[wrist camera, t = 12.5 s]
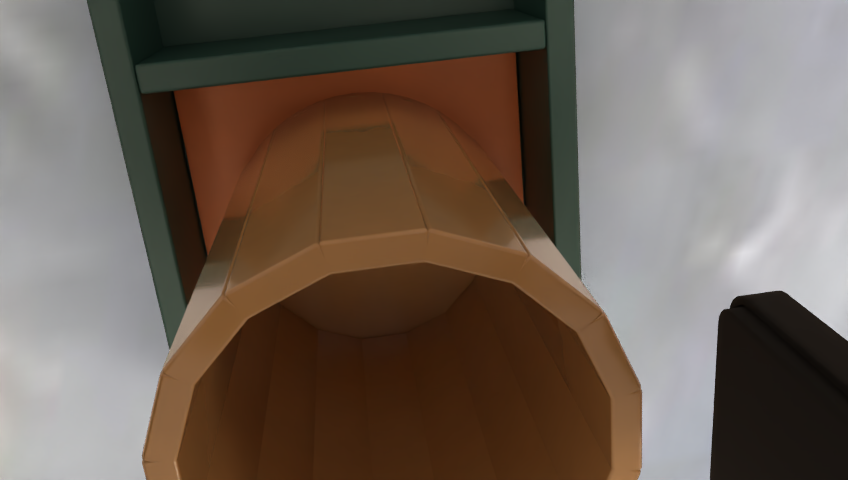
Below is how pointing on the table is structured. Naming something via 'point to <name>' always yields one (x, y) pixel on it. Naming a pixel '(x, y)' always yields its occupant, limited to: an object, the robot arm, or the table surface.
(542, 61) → the divided tray
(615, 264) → the table surface
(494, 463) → the wooden cup
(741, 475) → the robot arm
